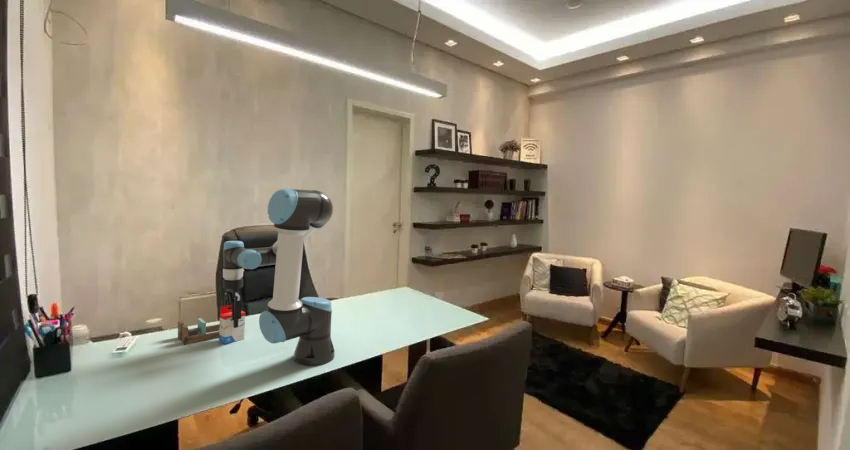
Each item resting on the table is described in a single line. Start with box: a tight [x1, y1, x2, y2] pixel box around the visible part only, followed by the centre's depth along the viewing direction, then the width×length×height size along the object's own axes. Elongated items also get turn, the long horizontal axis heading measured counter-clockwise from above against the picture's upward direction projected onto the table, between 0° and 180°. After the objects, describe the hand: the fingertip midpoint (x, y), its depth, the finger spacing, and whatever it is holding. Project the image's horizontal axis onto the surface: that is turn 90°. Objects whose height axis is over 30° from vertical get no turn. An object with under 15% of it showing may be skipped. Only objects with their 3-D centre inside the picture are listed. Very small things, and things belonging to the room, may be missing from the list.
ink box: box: [218, 305, 246, 345], centre depth 160 cm, size 8×5×15 cm, turn 143°
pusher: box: [188, 317, 207, 335], centre depth 160 cm, size 7×7×7 cm
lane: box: [177, 320, 220, 346], centre depth 164 cm, size 10×20×7 cm, turn 135°
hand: (232, 332), depth 160 cm, fingers closed on ink box, 5 cm apart
